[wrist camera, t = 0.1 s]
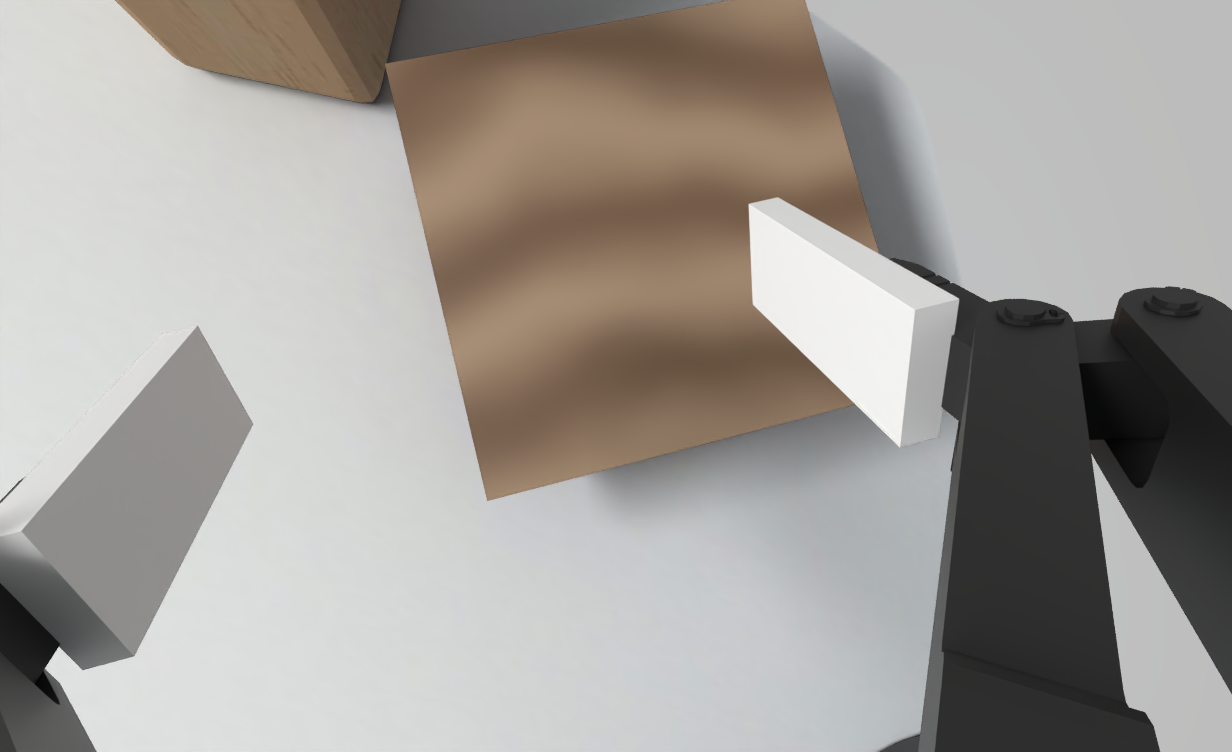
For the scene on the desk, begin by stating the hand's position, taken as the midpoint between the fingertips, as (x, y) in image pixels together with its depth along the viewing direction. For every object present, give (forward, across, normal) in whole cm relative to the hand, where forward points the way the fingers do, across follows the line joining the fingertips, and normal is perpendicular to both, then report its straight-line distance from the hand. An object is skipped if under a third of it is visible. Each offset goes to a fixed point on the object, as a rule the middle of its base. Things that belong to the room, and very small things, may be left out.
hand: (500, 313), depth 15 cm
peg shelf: (+15, -6, +6) cm, 17 cm away
